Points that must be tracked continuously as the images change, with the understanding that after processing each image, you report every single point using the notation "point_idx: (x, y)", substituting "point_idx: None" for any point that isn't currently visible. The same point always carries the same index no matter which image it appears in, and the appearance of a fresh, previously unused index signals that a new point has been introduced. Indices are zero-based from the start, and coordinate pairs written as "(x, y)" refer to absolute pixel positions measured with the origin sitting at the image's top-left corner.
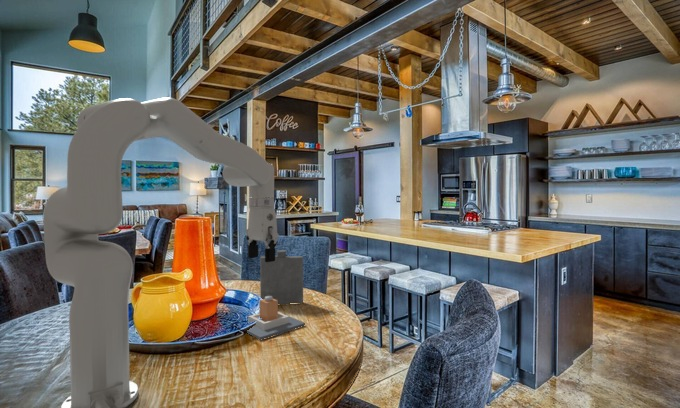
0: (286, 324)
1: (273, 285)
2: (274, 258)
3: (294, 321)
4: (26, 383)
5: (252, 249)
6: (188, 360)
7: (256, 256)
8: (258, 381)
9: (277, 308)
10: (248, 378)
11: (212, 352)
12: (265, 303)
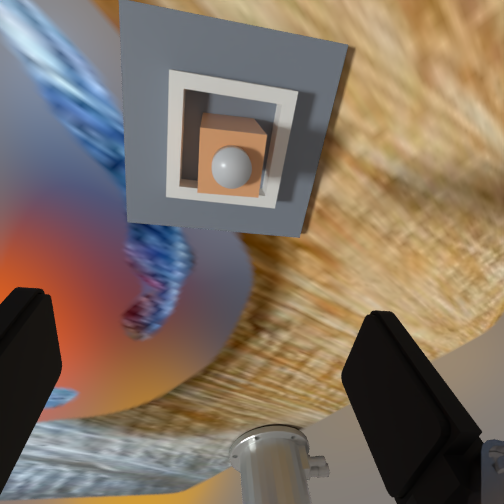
0: (295, 111)
1: None
2: (399, 331)
3: (300, 62)
4: (141, 485)
5: (8, 432)
6: (248, 363)
7: (49, 310)
8: (415, 327)
9: (260, 128)
10: None
11: (255, 326)
12: (247, 195)
